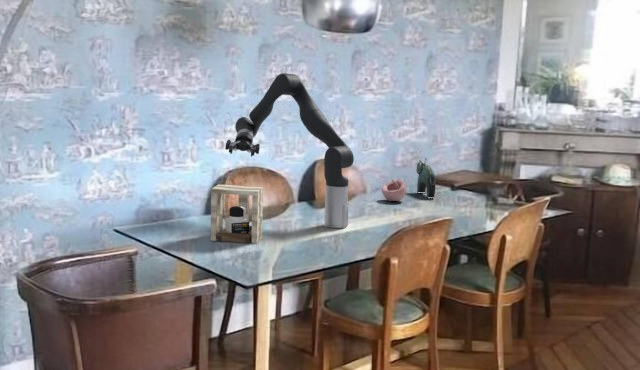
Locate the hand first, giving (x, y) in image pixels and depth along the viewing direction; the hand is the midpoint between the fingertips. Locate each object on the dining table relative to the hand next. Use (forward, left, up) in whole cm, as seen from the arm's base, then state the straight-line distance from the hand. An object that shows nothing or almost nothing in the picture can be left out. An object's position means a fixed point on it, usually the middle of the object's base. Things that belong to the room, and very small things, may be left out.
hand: (241, 152), depth 289 cm
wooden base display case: (-10, +26, -29) cm, 40 cm away
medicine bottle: (-11, +29, -29) cm, 42 cm away
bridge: (-11, +29, -29) cm, 42 cm away
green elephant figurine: (-66, -93, -29) cm, 118 cm away
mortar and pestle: (-53, -70, -29) cm, 92 cm away
